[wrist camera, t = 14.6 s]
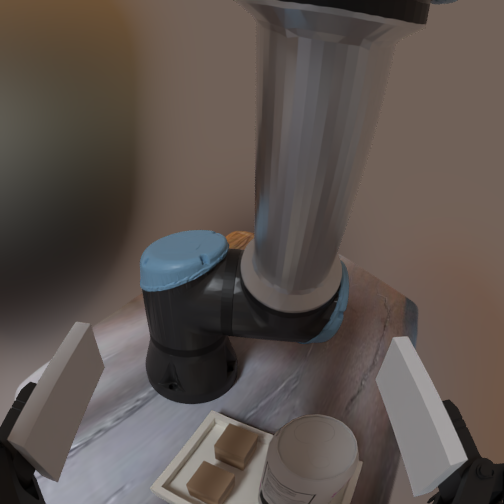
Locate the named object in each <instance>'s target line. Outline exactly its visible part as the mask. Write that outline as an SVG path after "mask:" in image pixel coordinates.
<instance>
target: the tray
mask: <svg viewBox="0 0 504 504" xmlns="http://www.w3.org/2000/svg"><path fill="white" fill-rule="evenodd" d="M229 423H231V424H233V425H236V426H238V427H240V428H243V429H245V430H248V431H250V432H253V433H255V434H258V442H257V449H256V450H255V452H254V454H253V456H252V457H251V459H250V461H249V462H248V464H247V466H246V467H245V469H244V471H242V470H239V469H237V468H235V467H232V466H230V465H228V464H226V463H223V462H221V461H219V460H217V459H215V451H214V445H215V443H216V442H217V440H218V439H219V437H220V436H221V435H222V433H223V432H224V430H225V429H226V427H227V426H228V424H229ZM273 436H274V435H272V434H269V433H266V432H264V431H261V430H258V429H256V428H253V427H251V426H248V425H246V424H243V423H241V422H238V421H236V420H233V419H231V418H229V417H226V416H224V415H222V414H219V413H217V412H215V411H213V410H211V412H210V413H209V414H208V416H207V417H206V418H205V420H204V421H203V422H202V424H201V425H200V426H199V427H198V429H197V430H196V431H195V433H194V434H193V435H192V437H191V438H190V439H189V440H188V442H187V443H186V444H185V445H184V447H183V448H182V449H181V450H180V452H179V453H178V454H177V455H176V457H175V458H174V459H173V460H172V462H171V463H170V464H169V465H168V467H167V468H166V469H165V470H164V471H163V473H162V474H161V475H160V476H159V478H158V479H157V480H156V481H155V482H154V484H153V485H152V486H151V487H150V489H151V491H152V492H153V494H155V495H156V496H158V497H160V498H161V499H163V500H165V501H167V502H168V503H170V504H206V503H204V502H202V501H200V500H198V499H196V498H194V497H192V496H190V494H189V492H188V489H187V486H186V484H187V483H188V481H189V480H190V479H191V477H192V476H193V475H194V473H195V472H196V471H197V469H198V468H199V467H200V465H201V464H202V462H203V461H206V462H208V463H210V464H212V465H215V466H217V467H219V468H221V469H223V470H226V471H228V472H230V473H232V474H235V486H234V488H233V489H232V491H231V492H230V494H229V496H228V497H227V499H226V500H225V502H224V503H223V504H259V502H258V493H259V487H260V483H261V478H262V474H263V469H264V465H265V460H266V455H267V451H268V446H269V443H270V441H271V439H272V438H273ZM362 464H363V461H359V462H358V465H357V467H356V470H355V473H354V474H353V475H352V477H351V478H350V479H349V480H348V482H347V483H346V484H345V485H344V486H343V488H342V489H341V490H340V491H339V492H338V494H337V495H336V496H335V497H334V498H333V499H332V501H331V502H330V503H329V504H350V502H351V499H352V497H353V494H354V490H355V487H356V484H357V481H358V478H359V474H360V471H361V468H362Z"/></svg>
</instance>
